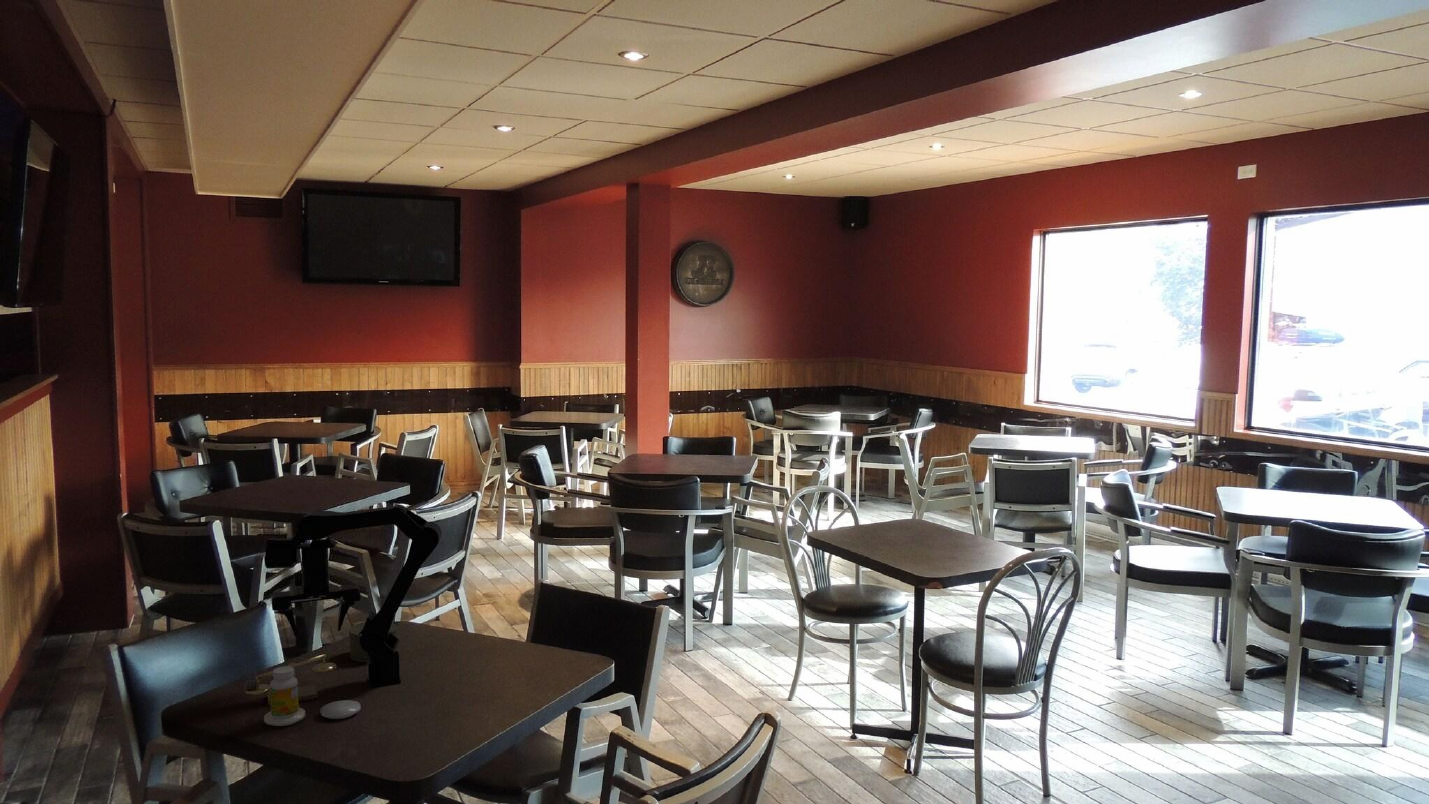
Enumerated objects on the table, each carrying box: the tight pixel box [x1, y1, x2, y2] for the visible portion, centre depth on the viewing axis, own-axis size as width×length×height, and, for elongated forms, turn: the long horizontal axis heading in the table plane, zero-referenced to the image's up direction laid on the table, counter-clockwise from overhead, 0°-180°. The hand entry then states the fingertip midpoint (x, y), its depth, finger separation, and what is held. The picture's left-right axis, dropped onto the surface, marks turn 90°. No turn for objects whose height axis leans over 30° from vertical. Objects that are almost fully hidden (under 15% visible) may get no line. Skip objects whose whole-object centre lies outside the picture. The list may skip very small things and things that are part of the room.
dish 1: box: [263, 707, 306, 727], centre depth 213 cm, size 8×8×1 cm
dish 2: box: [320, 699, 361, 720], centre depth 216 cm, size 8×8×1 cm
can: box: [348, 621, 400, 663], centre depth 253 cm, size 12×12×7 cm
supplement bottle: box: [269, 665, 300, 719], centre depth 212 cm, size 5×5×10 cm
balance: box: [244, 653, 337, 706], centre depth 225 cm, size 19×6×9 cm, turn 115°
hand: (317, 633), depth 232 cm, fingers open, 9 cm apart
